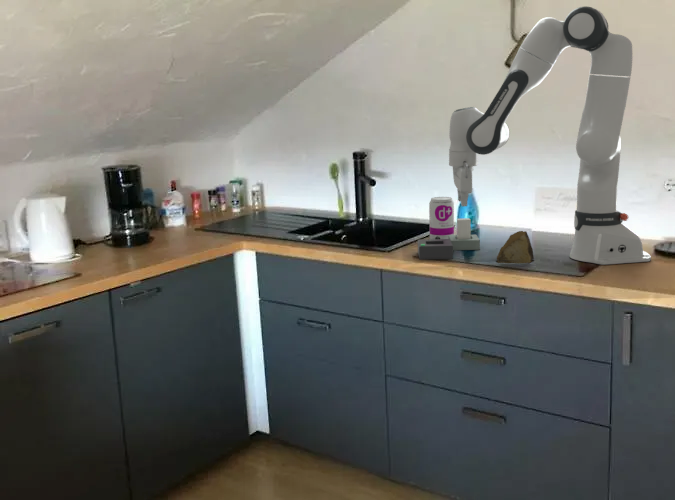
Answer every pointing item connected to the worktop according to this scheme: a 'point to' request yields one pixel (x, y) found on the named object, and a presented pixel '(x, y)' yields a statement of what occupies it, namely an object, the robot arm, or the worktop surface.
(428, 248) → the port
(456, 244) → the block
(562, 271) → the worktop surface
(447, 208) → the supplement can
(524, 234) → the rock
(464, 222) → the plug
